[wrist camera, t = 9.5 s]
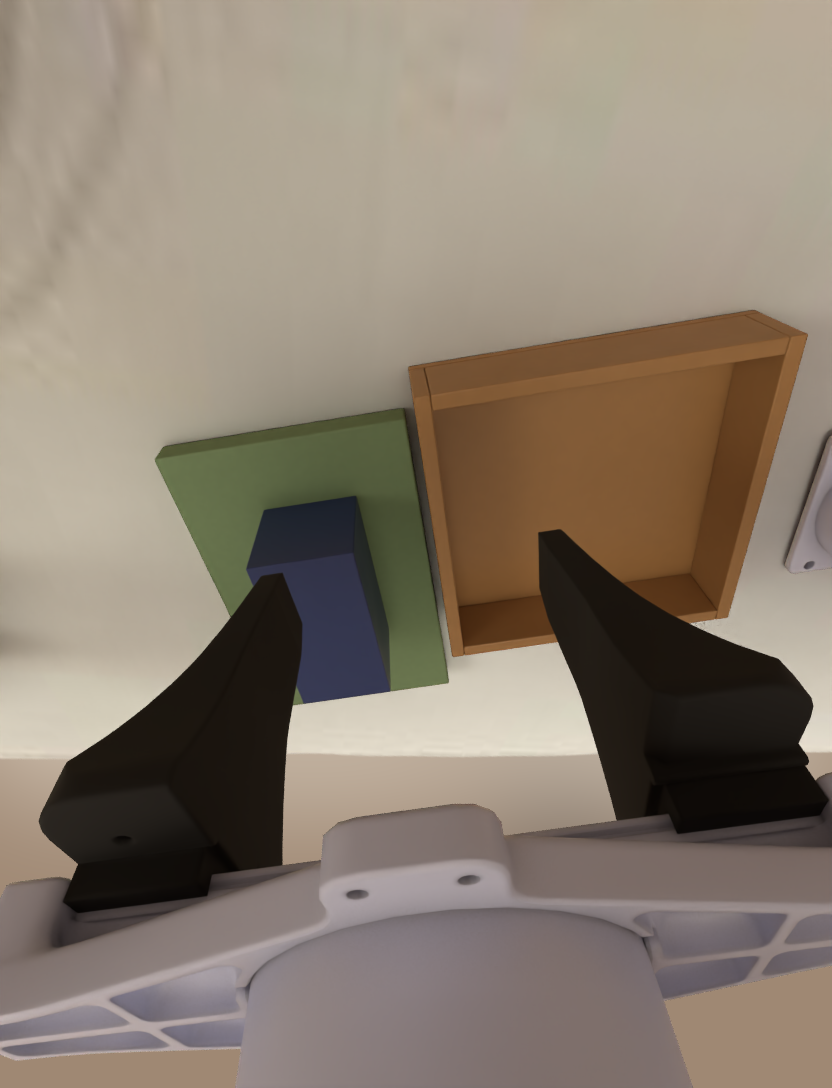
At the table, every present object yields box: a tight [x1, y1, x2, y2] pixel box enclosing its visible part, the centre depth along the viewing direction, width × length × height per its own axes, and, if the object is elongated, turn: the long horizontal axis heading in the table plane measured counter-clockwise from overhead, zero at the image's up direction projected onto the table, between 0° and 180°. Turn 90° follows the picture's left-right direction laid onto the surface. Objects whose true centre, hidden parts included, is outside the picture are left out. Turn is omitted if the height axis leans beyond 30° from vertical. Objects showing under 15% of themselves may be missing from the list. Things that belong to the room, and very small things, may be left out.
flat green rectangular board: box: [155, 408, 449, 705], centre depth 26 cm, size 10×16×1 cm, turn 8°
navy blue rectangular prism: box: [246, 496, 391, 704], centre depth 24 cm, size 4×8×4 cm, turn 8°
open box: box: [408, 310, 808, 657], centre depth 23 cm, size 13×13×3 cm
